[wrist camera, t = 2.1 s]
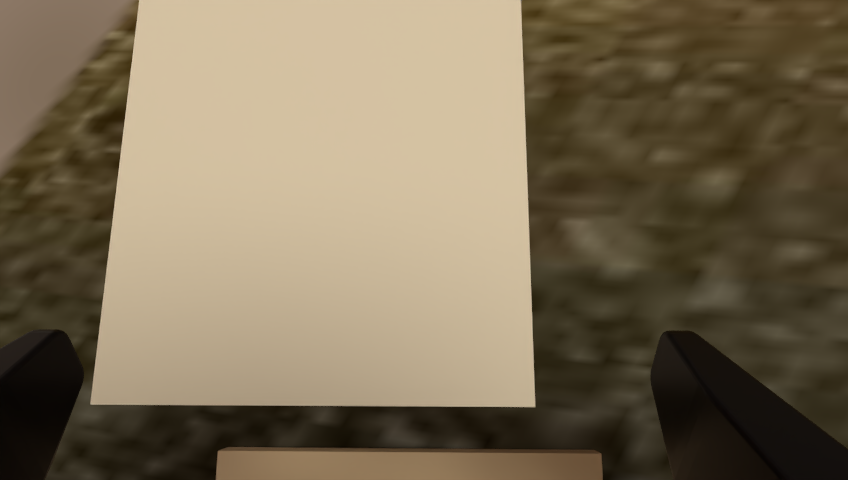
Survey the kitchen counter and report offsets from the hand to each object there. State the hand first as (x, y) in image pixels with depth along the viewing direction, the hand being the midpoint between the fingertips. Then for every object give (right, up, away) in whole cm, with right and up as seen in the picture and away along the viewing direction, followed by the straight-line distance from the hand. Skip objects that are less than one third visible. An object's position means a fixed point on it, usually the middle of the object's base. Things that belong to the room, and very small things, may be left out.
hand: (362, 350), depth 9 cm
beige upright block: (0, 0, +10) cm, 10 cm away
